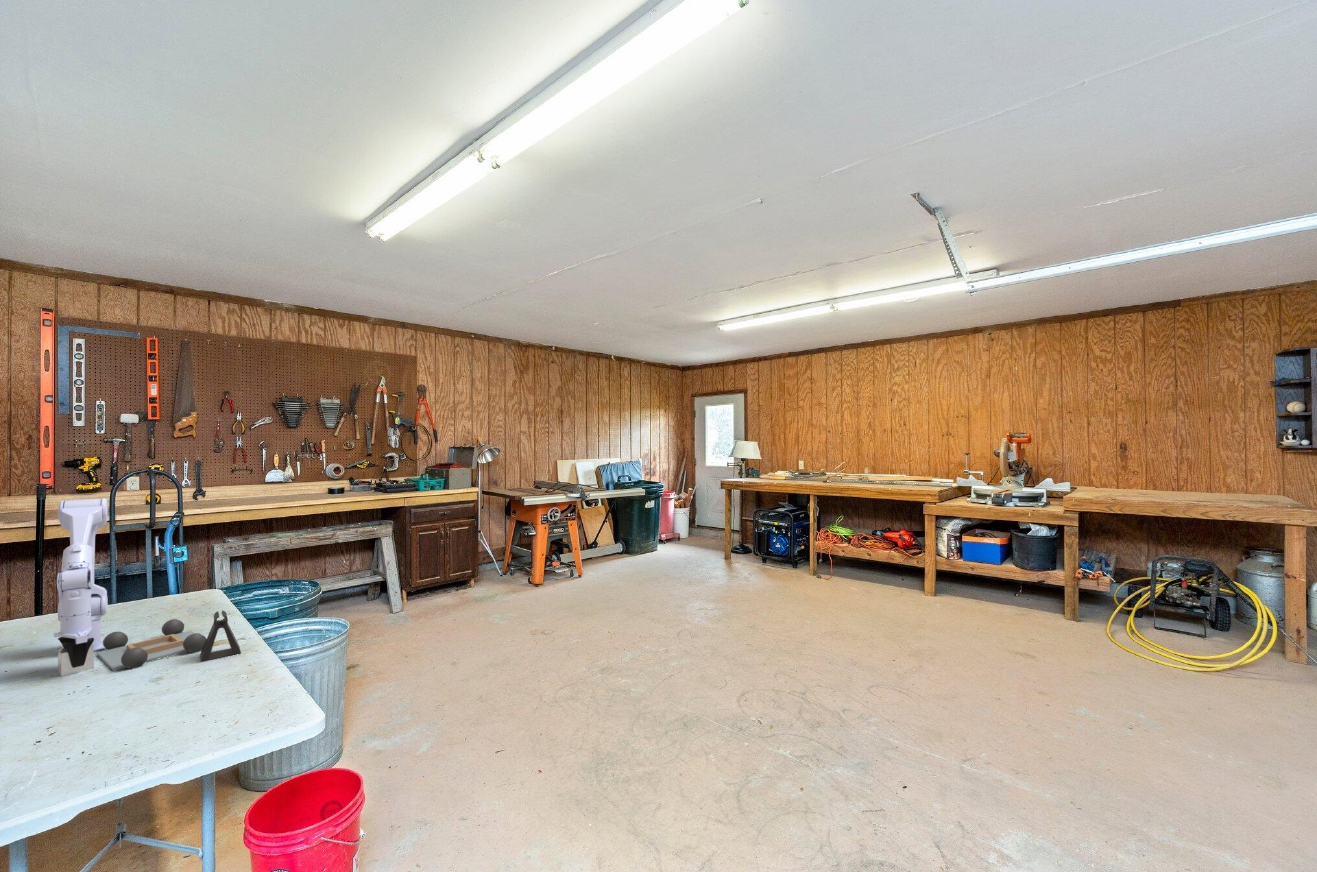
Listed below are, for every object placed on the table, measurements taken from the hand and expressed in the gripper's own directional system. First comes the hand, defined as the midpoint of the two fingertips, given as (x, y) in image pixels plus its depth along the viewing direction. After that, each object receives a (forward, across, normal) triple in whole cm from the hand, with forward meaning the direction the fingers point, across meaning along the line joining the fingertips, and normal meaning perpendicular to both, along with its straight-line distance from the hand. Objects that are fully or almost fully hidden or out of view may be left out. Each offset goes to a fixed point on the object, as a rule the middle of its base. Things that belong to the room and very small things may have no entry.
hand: (76, 663), depth 147 cm
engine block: (+2, 0, 0) cm, 2 cm away
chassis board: (+2, 0, +16) cm, 16 cm away
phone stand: (+2, +19, +26) cm, 32 cm away
